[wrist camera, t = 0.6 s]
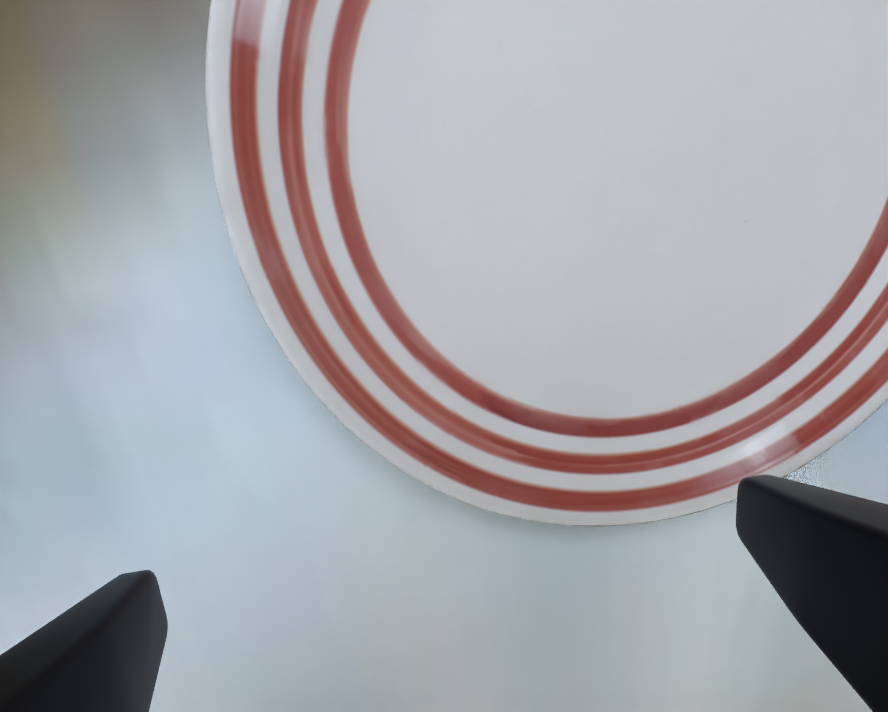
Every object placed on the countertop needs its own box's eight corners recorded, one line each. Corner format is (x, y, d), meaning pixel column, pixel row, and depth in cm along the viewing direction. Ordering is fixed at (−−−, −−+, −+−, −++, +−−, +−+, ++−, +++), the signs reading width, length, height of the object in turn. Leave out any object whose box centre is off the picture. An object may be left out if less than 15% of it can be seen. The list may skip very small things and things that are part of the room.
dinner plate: (1106, 63, 22) (1229, 42, 19) (660, 592, 27) (700, 646, 23) (571, -626, 15) (626, -841, 12) (73, 247, 19) (16, 258, 16)
